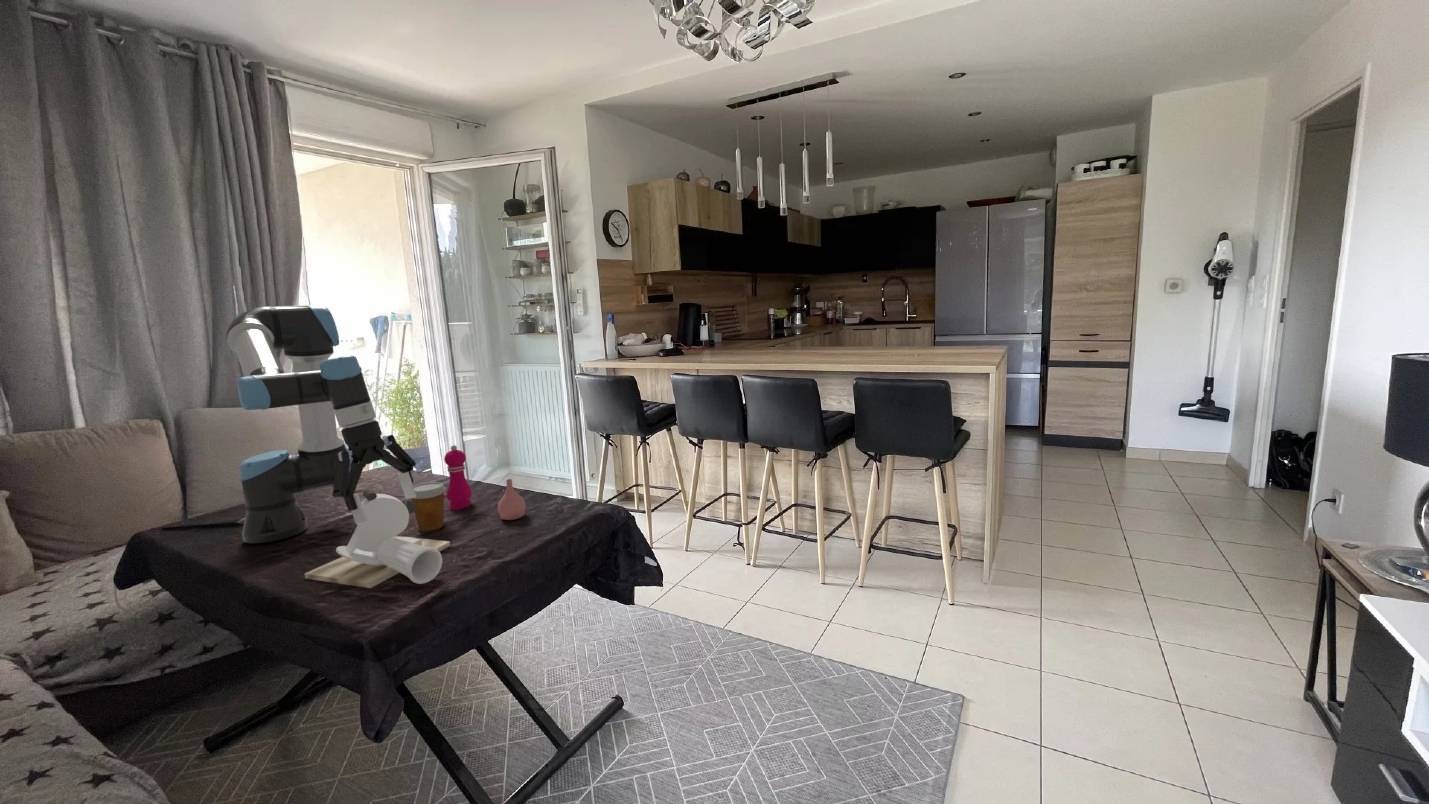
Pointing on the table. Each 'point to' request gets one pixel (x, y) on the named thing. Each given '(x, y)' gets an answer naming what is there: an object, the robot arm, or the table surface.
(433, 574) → the cup
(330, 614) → the table surface
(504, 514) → the pink bulbous piece
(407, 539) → the tile
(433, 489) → the disposable coffee cup
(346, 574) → the board
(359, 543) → the panda figurine
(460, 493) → the pepper mill
